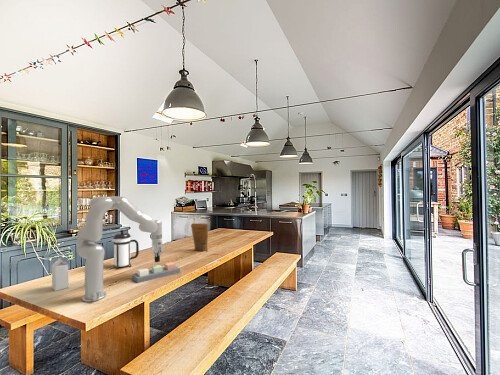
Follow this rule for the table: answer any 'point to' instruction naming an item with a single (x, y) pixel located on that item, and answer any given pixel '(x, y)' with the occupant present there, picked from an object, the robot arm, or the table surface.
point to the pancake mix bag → (200, 236)
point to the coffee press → (123, 249)
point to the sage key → (156, 269)
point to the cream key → (142, 272)
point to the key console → (155, 274)
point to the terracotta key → (169, 266)
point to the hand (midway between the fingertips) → (157, 261)
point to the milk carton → (59, 275)
